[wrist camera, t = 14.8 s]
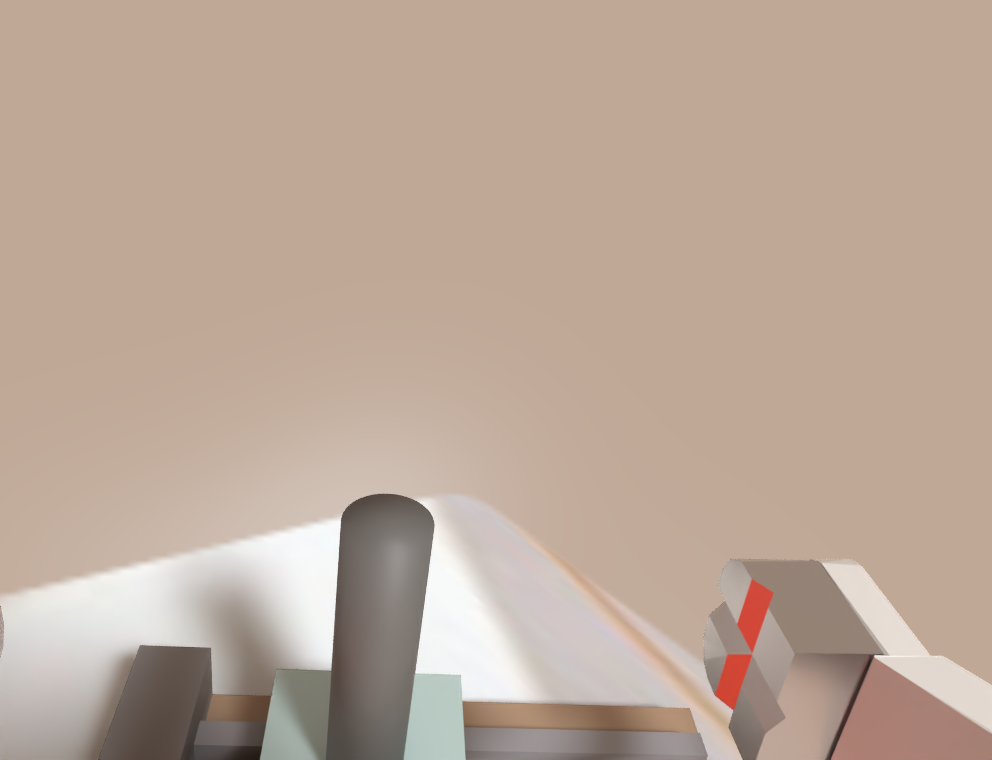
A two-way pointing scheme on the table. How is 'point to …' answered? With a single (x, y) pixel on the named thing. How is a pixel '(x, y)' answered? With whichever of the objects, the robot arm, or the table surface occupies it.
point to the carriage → (372, 654)
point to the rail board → (487, 726)
